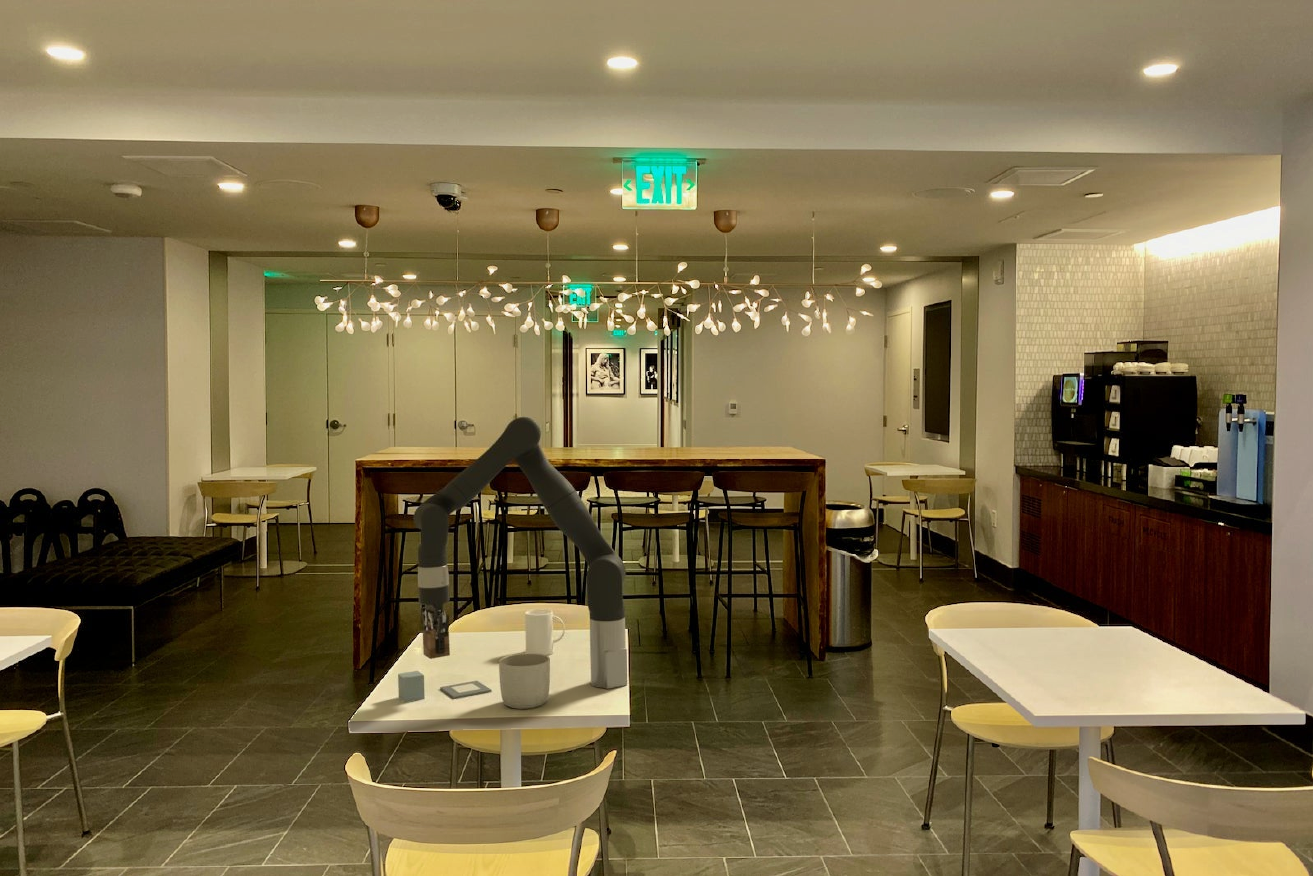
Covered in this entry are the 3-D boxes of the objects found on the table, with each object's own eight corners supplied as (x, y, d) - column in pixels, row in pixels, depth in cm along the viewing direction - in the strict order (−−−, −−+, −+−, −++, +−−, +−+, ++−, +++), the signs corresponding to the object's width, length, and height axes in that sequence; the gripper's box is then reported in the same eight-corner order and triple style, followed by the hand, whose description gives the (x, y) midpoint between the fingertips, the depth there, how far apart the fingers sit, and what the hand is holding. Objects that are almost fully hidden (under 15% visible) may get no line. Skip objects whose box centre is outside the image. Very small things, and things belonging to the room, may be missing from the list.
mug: (567, 648, 283) (566, 608, 283) (562, 656, 275) (562, 615, 274) (528, 648, 284) (527, 609, 284) (522, 656, 276) (521, 615, 275)
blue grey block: (424, 699, 237) (424, 675, 237) (404, 702, 234) (404, 678, 234) (418, 694, 241) (417, 670, 241) (398, 697, 239) (398, 674, 238)
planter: (489, 704, 232) (488, 660, 231) (530, 693, 240) (529, 650, 240) (519, 715, 223) (518, 669, 222) (561, 703, 231) (560, 659, 231)
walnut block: (449, 655, 237) (448, 631, 236) (430, 658, 234) (429, 634, 234) (442, 651, 241) (441, 628, 241) (423, 654, 238) (422, 631, 238)
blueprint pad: (491, 691, 242) (491, 689, 242) (454, 698, 236) (453, 696, 236) (476, 682, 250) (476, 680, 250) (440, 689, 245) (440, 686, 245)
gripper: (458, 585, 233) (461, 654, 233) (438, 578, 245) (440, 643, 245) (428, 589, 229) (431, 659, 229) (409, 581, 241) (412, 648, 241)
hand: (436, 651), depth 237 cm, fingers closed on walnut block, 5 cm apart
